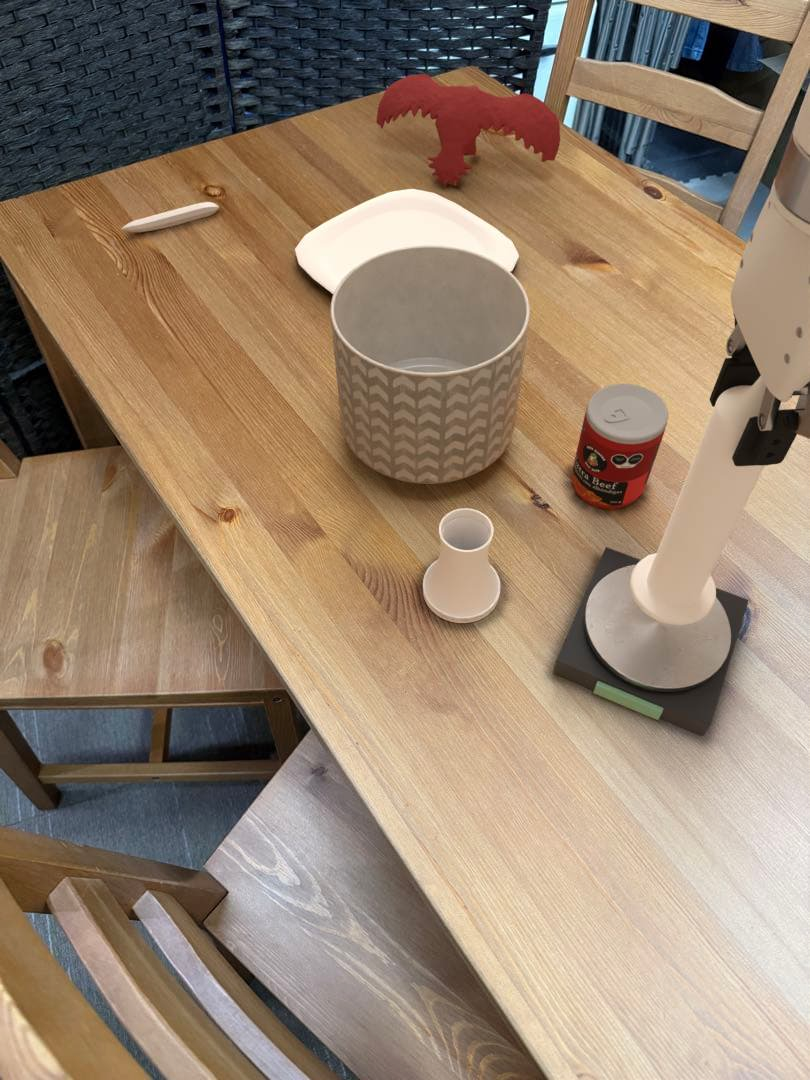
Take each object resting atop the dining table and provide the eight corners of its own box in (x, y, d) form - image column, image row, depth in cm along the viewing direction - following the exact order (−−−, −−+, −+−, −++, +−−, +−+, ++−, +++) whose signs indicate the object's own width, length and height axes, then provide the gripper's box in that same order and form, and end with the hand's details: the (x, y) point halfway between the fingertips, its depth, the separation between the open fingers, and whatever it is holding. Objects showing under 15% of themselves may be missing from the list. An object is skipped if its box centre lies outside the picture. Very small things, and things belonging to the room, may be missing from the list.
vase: (515, 590, 84) (526, 529, 76) (462, 637, 81) (468, 579, 73) (459, 546, 87) (464, 483, 79) (406, 589, 84) (406, 529, 76)
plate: (274, 257, 115) (272, 246, 114) (413, 186, 125) (413, 175, 124) (397, 352, 104) (397, 341, 103) (540, 265, 114) (542, 254, 112)
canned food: (555, 480, 92) (570, 407, 83) (605, 444, 95) (625, 370, 86) (609, 523, 88) (630, 452, 79) (659, 485, 91) (685, 412, 82)
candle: (722, 572, 74) (837, 351, 53) (703, 638, 70) (819, 426, 50) (642, 545, 76) (724, 320, 55) (619, 607, 72) (698, 391, 52)
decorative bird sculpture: (543, 217, 127) (573, 111, 124) (534, 203, 119) (566, 89, 115) (370, 178, 134) (394, 76, 131) (350, 162, 125) (375, 53, 122)
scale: (741, 612, 82) (753, 592, 79) (701, 741, 74) (713, 724, 72) (601, 560, 86) (608, 539, 83) (550, 677, 78) (555, 659, 75)
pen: (122, 234, 119) (118, 223, 117) (217, 207, 122) (215, 197, 121) (124, 240, 118) (121, 229, 117) (221, 213, 121) (219, 202, 120)
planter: (328, 492, 91) (311, 364, 77) (358, 370, 102) (349, 237, 88) (506, 511, 90) (524, 384, 75) (517, 384, 101) (535, 252, 86)
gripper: (1015, 282, 37) (845, 530, 52) (867, 89, 47) (760, 343, 62) (846, 290, 37) (724, 537, 52) (734, 95, 47) (657, 349, 62)
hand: (744, 430), depth 57 cm, fingers closed on candle, 4 cm apart
